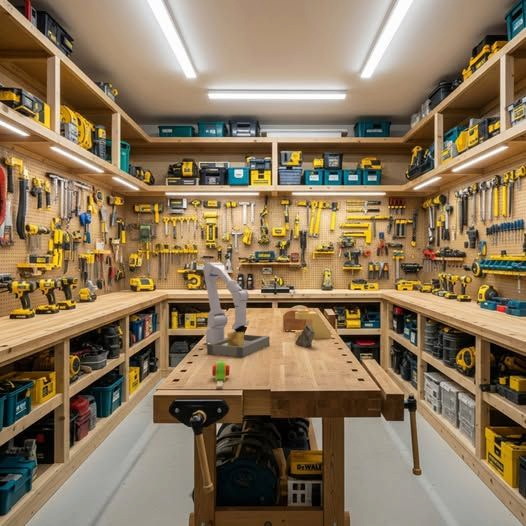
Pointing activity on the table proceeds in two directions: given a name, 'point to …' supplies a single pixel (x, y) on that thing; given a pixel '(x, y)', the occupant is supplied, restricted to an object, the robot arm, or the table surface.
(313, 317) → the pale yellow sloped piece
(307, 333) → the concrete fragment
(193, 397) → the table surface
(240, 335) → the block
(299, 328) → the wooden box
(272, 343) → the table surface
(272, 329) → the table surface
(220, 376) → the toy measuring tape
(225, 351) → the trap track
